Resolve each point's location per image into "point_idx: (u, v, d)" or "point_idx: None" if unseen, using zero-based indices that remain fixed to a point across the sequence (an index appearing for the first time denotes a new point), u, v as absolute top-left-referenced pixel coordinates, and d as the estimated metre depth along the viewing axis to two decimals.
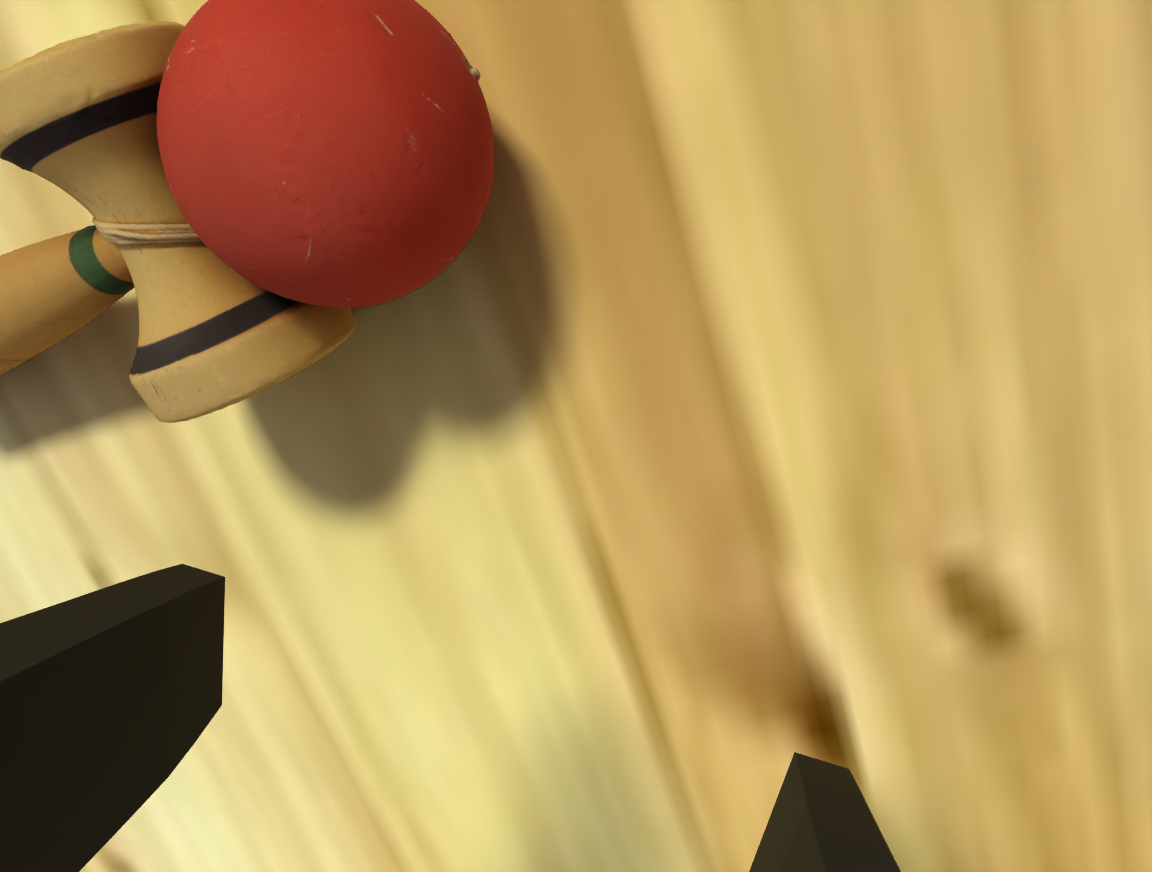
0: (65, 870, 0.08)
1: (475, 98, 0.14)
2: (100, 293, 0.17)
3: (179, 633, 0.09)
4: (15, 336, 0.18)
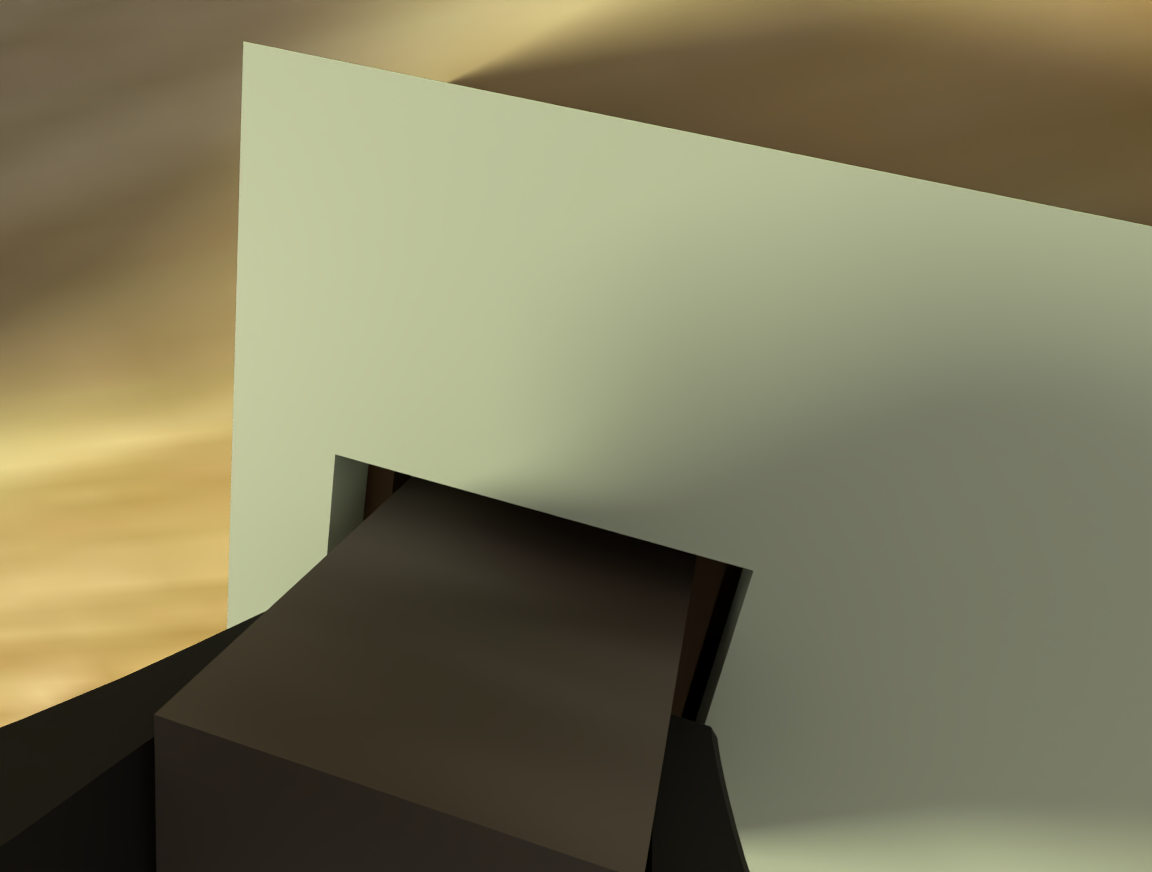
0: None
1: None
2: None
3: None
4: None
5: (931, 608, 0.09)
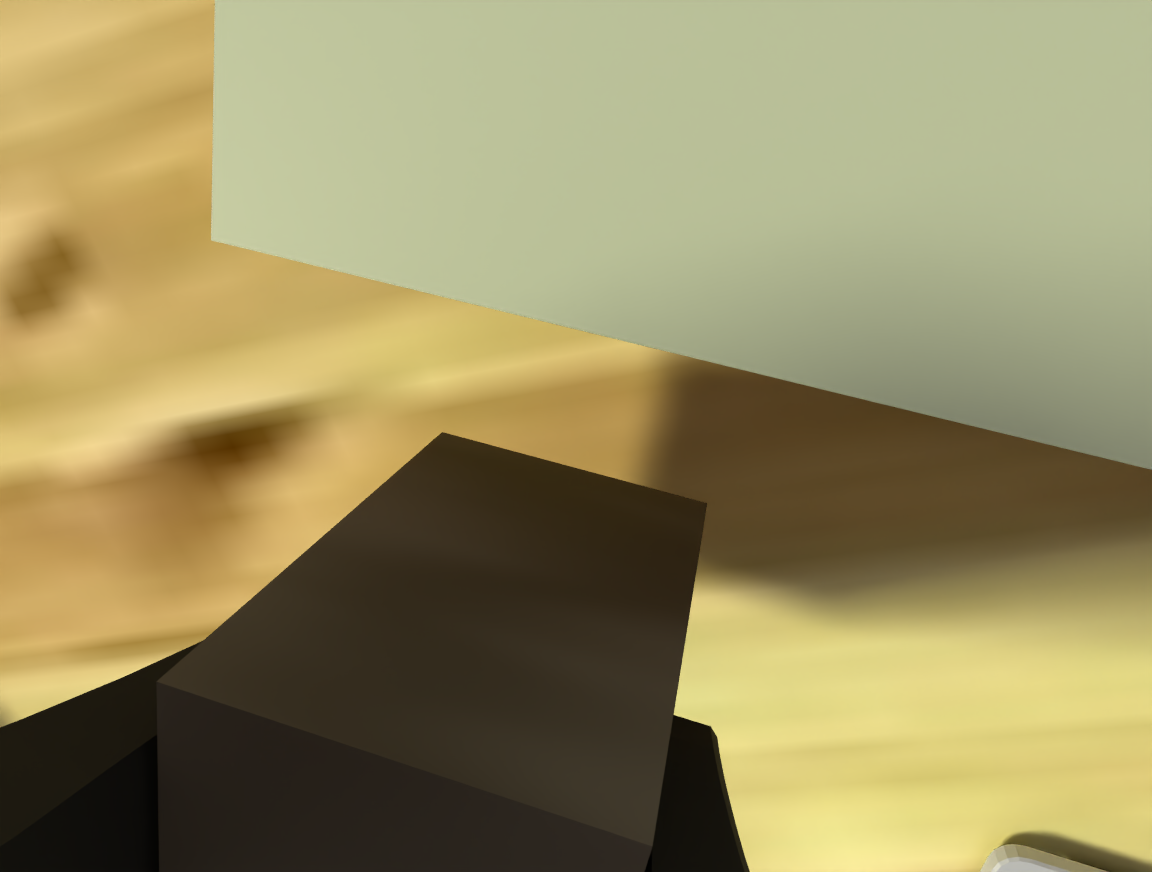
0: None
1: None
2: None
3: None
4: None
5: None
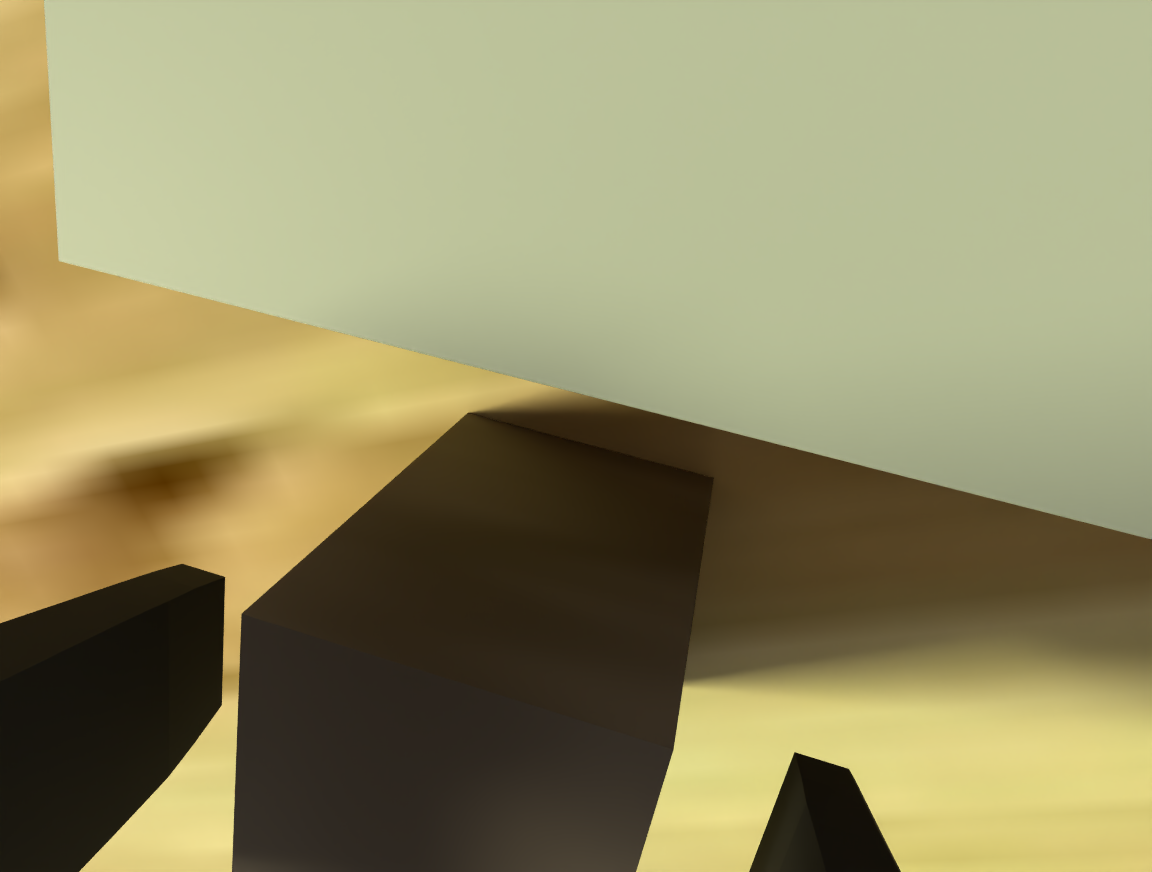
0: (65, 870, 0.08)
1: None
2: None
3: (179, 633, 0.09)
4: None
5: None
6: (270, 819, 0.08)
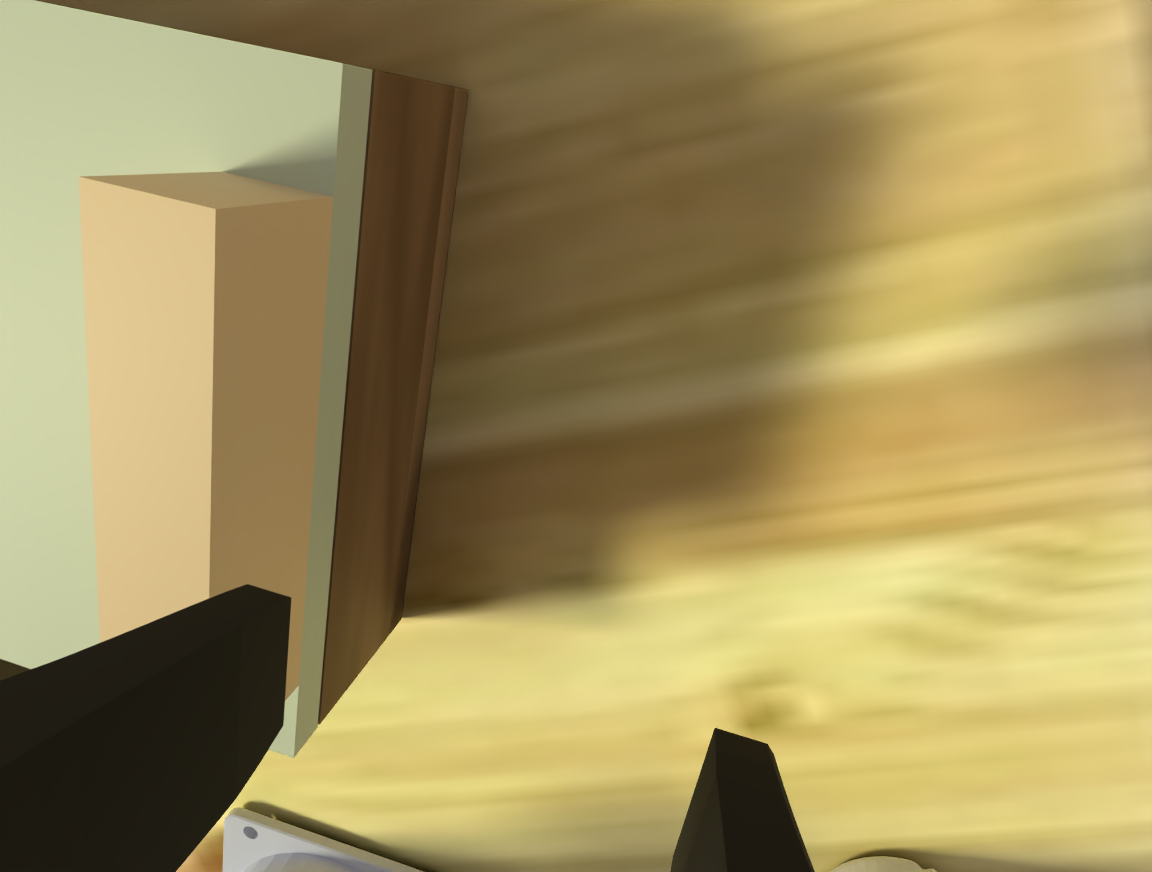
0: None
1: None
2: None
3: (250, 656, 0.09)
4: None
5: None
6: None
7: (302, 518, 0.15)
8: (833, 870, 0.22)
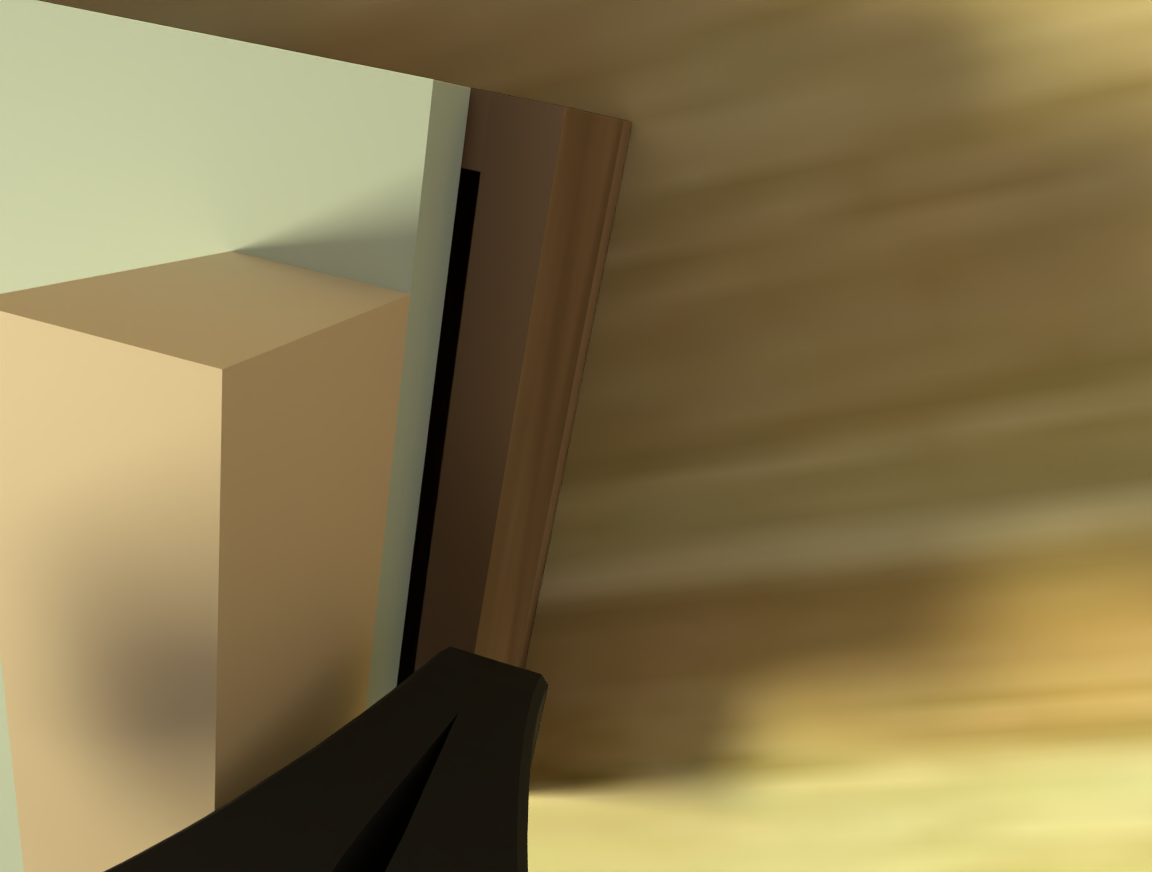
0: None
1: None
2: None
3: None
4: None
5: None
6: None
7: None
8: None
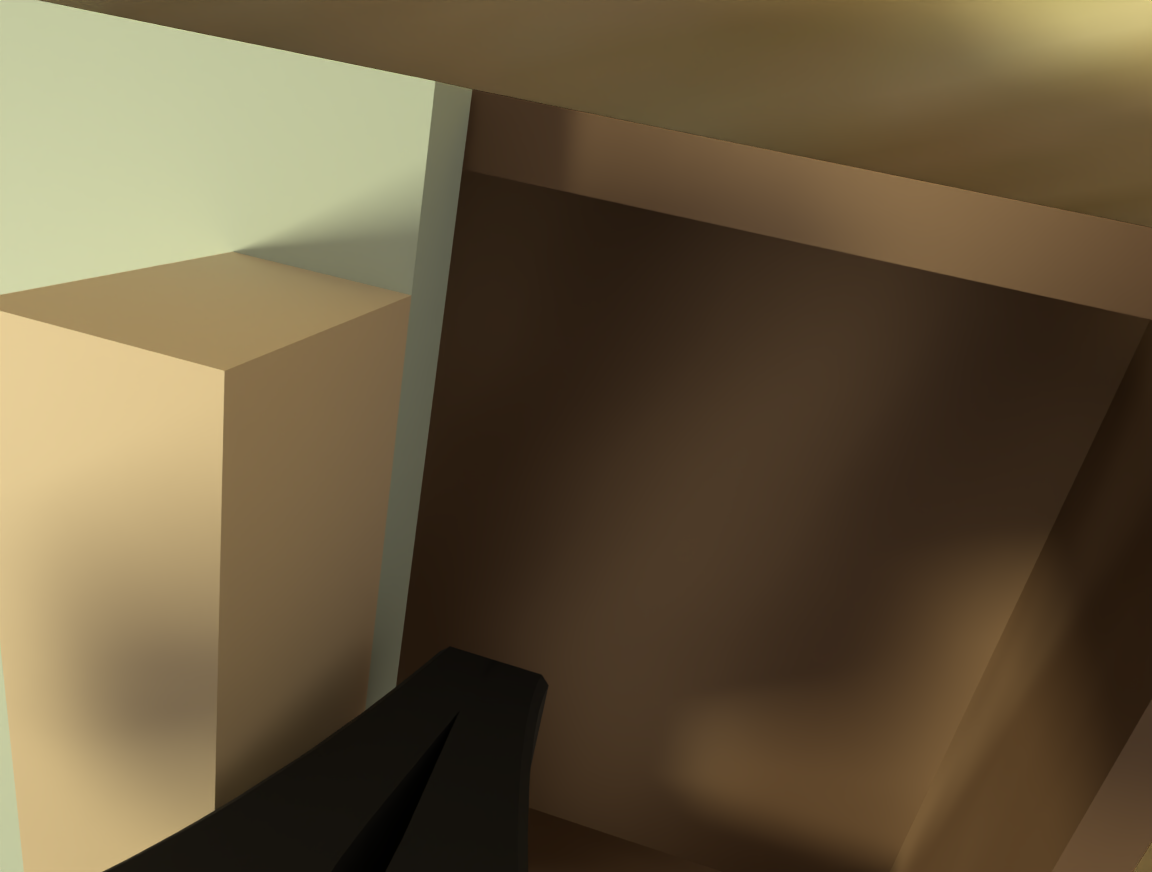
0: None
1: None
2: None
3: None
4: None
5: None
6: None
7: None
8: None
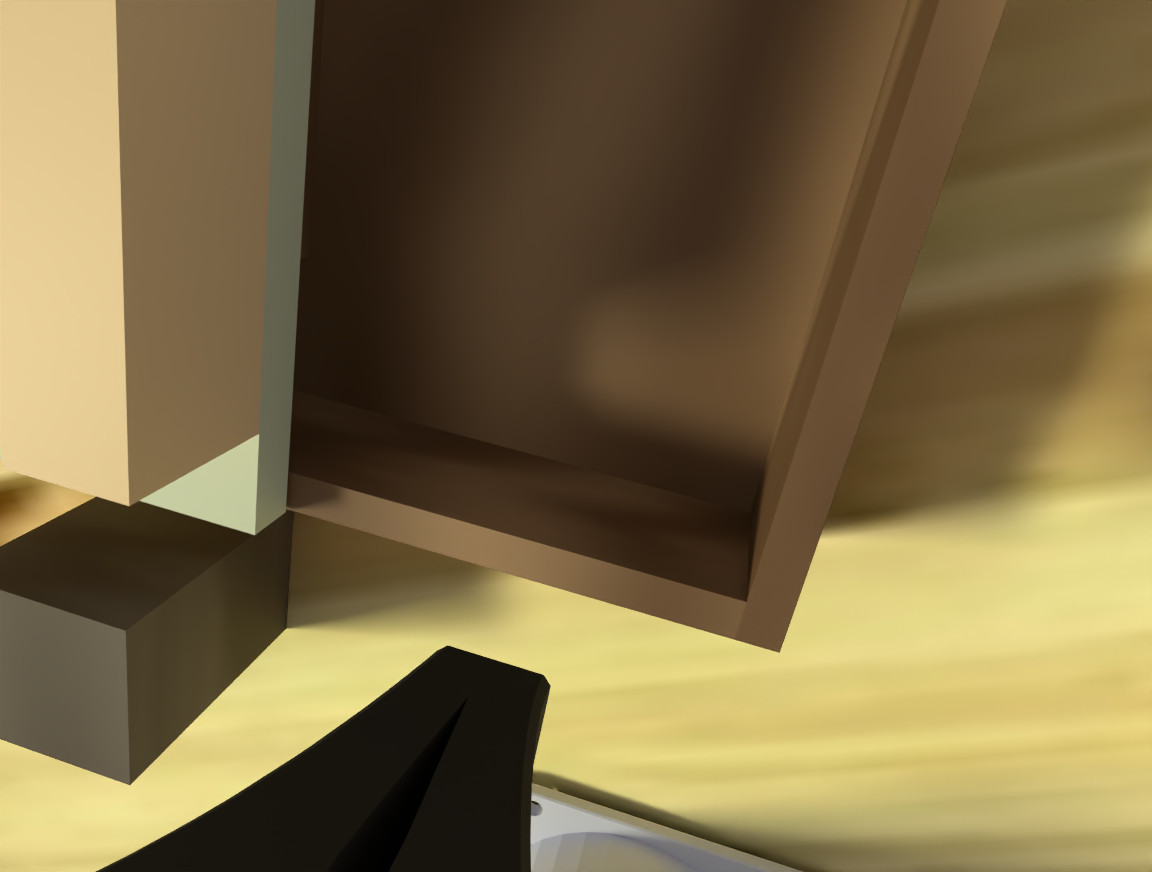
0: None
1: None
2: None
3: None
4: None
5: None
6: None
7: (257, 183, 0.12)
8: None
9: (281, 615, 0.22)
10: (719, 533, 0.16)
